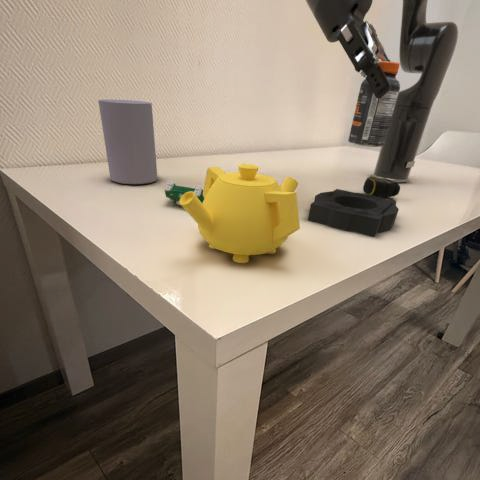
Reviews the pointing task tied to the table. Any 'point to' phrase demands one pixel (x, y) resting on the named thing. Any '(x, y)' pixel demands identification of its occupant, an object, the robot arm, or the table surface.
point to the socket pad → (353, 212)
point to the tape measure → (380, 187)
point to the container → (129, 141)
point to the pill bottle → (374, 110)
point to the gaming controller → (182, 192)
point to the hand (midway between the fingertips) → (389, 94)
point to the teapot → (244, 211)
